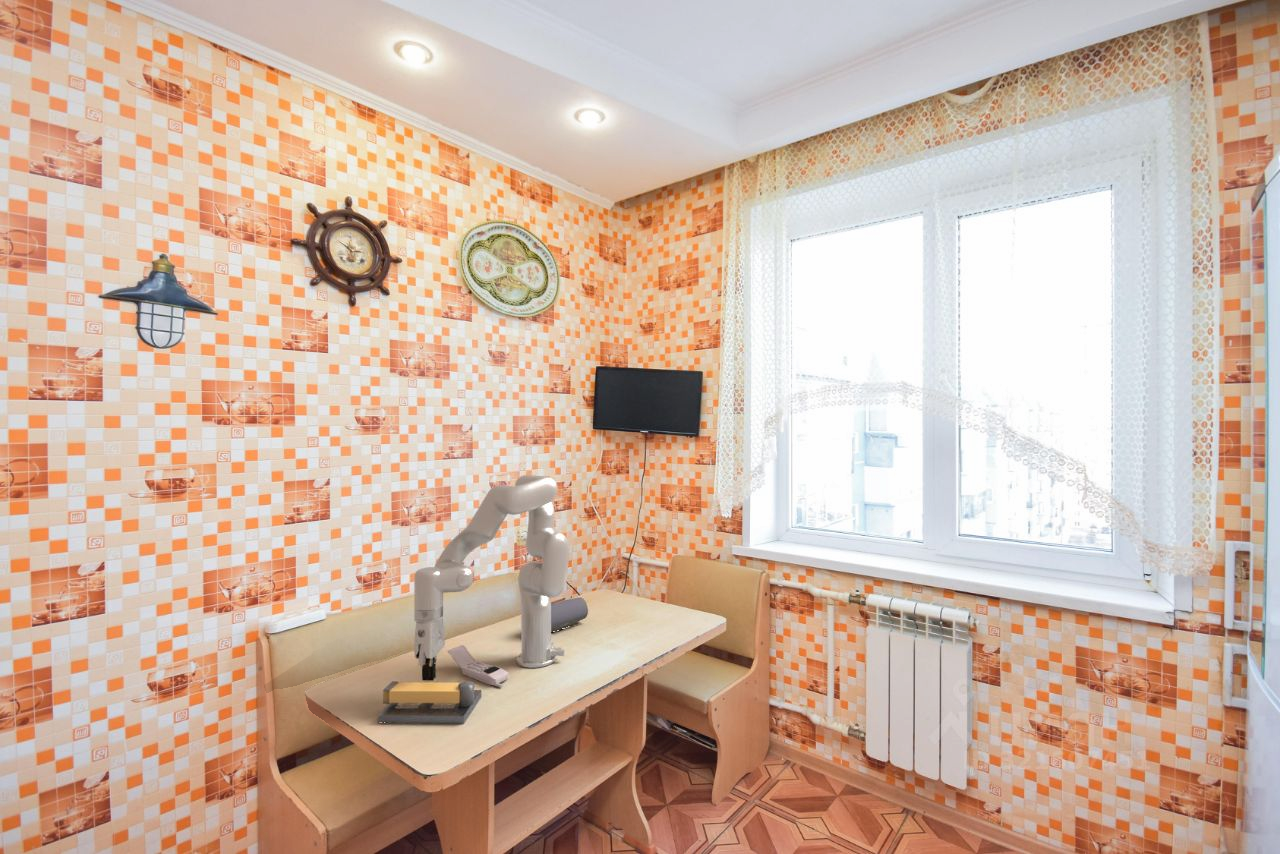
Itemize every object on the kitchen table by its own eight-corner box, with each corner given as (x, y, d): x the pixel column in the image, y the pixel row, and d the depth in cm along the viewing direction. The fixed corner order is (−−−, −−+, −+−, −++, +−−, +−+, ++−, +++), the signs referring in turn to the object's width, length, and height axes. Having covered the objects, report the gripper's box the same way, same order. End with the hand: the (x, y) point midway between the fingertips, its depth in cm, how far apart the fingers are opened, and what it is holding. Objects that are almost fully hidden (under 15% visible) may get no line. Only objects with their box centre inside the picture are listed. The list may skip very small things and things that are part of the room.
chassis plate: (481, 697, 152) (481, 688, 152) (463, 723, 138) (463, 714, 138) (403, 696, 152) (403, 688, 152) (378, 723, 138) (378, 714, 138)
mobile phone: (462, 644, 176) (514, 662, 161) (462, 662, 176) (514, 682, 161) (445, 650, 171) (497, 669, 156) (446, 669, 171) (498, 690, 156)
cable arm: (476, 698, 146) (476, 680, 146) (470, 708, 141) (470, 688, 141) (392, 698, 147) (392, 679, 147) (383, 707, 142) (383, 688, 142)
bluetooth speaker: (573, 619, 216) (573, 593, 216) (589, 624, 209) (589, 598, 210) (525, 634, 200) (525, 607, 200) (540, 641, 193) (540, 612, 193)
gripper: (431, 622, 144) (431, 692, 144) (452, 604, 159) (452, 667, 159) (403, 622, 145) (403, 691, 144) (427, 604, 160) (427, 667, 159)
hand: (428, 679), depth 152 cm, fingers closed
